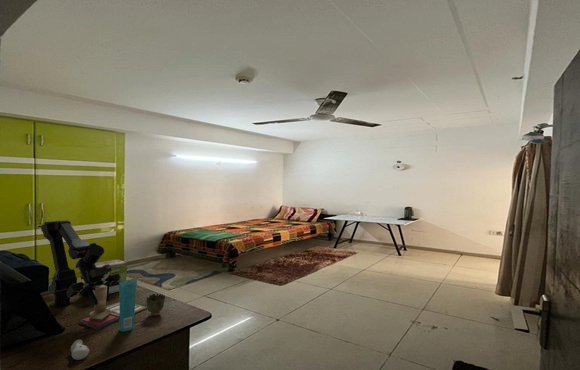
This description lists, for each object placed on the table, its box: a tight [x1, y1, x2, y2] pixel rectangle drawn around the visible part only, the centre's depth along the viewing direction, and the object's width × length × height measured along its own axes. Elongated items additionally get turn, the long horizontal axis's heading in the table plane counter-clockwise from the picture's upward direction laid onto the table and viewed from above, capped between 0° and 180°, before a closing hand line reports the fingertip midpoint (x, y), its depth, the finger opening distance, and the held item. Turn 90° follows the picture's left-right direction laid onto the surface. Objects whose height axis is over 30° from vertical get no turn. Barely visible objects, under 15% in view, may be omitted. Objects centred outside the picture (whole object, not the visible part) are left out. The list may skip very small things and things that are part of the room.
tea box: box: [92, 258, 128, 295], centre depth 153 cm, size 15×10×15 cm
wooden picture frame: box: [106, 301, 148, 319], centre depth 133 cm, size 16×12×1 cm
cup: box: [146, 293, 166, 317], centre depth 130 cm, size 8×7×8 cm
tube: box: [118, 276, 138, 332], centre depth 117 cm, size 7×5×19 cm, turn 158°
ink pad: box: [78, 315, 120, 331], centre depth 121 cm, size 11×9×1 cm
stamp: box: [88, 285, 110, 321], centre depth 121 cm, size 5×5×12 cm
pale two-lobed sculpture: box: [70, 339, 90, 361], centre depth 98 cm, size 4×8×5 cm
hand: (102, 302), depth 120 cm, fingers closed on stamp, 4 cm apart
